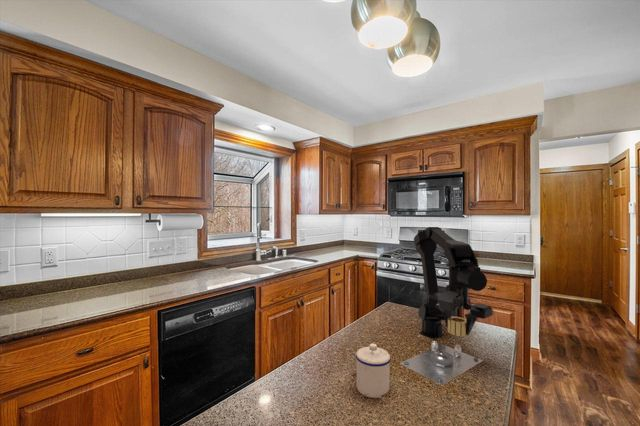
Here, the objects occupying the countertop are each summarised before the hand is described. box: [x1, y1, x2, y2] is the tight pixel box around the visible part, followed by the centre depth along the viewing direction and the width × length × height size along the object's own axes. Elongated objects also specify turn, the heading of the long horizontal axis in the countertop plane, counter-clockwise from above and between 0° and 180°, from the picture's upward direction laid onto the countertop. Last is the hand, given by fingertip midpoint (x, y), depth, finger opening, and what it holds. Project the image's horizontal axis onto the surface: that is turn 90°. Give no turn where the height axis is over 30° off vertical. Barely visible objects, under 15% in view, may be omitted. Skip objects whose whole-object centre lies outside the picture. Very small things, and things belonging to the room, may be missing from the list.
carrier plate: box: [399, 339, 484, 386], centre depth 90 cm, size 14×23×4 cm, turn 126°
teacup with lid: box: [354, 343, 391, 399], centre depth 79 cm, size 12×9×12 cm
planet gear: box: [447, 316, 468, 337], centre depth 94 cm, size 6×6×4 cm
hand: (457, 331), depth 94 cm, fingers closed on planet gear, 6 cm apart
